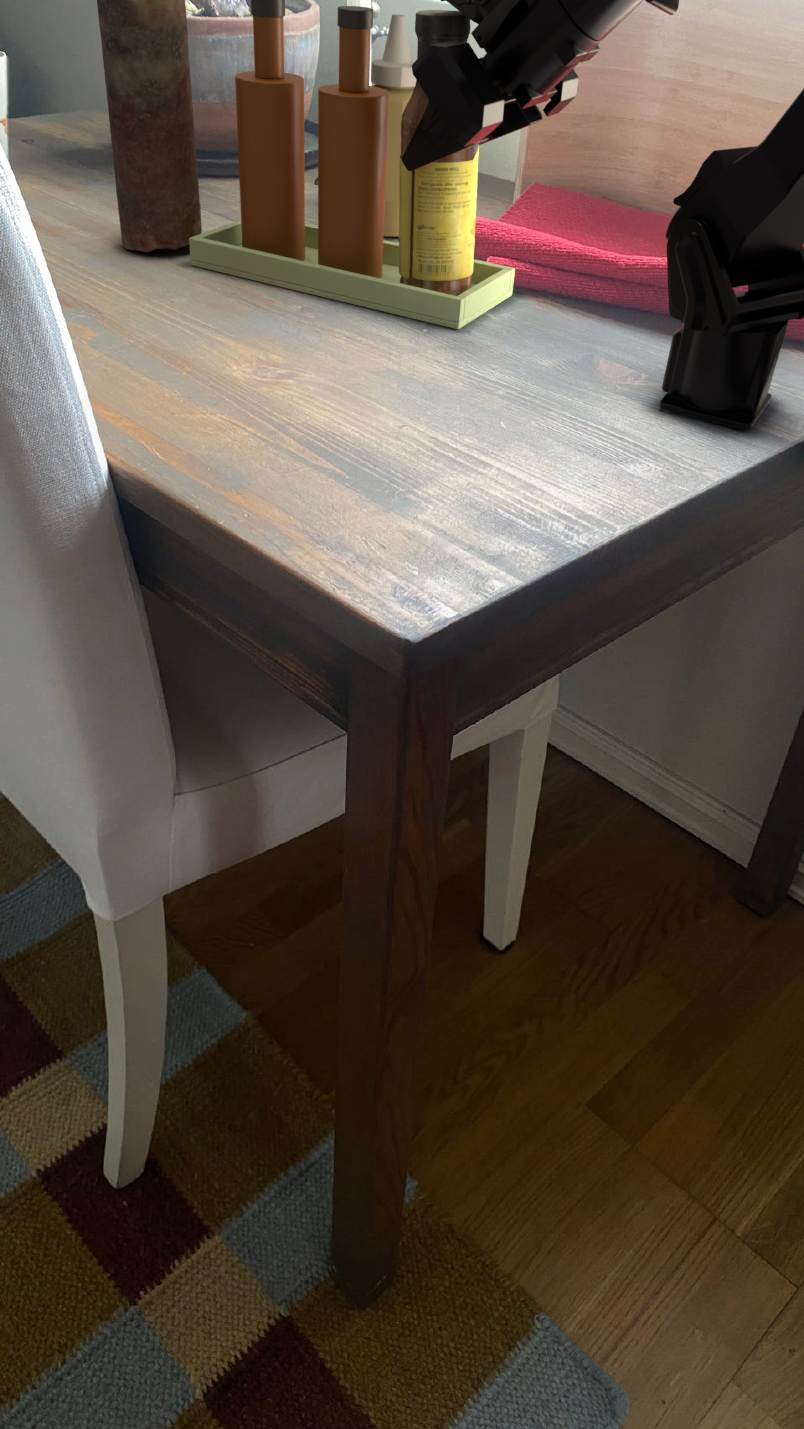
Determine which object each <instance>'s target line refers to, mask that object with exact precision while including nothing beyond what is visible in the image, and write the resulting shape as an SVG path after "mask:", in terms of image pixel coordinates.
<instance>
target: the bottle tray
mask: <svg viewBox="0 0 804 1429" xmlns="http://www.w3.org/2000/svg"><path fill="white" fill-rule="evenodd" d="M250 15H251V16H252V32H253V33H252V34H253V36H252V37H253V62H254V71H253V70H251V71H242V72H239V73H236V74H235V75H234V82H235V83H234V89H235V109H236V110H235V111H236V130H237V131H236V132H237V133H236V135H237V136H236V137H237V157H238V179H239V180H238V182H239V203H240V204H239V206H240V219H239V220H235V221H232V222H229V223H227V224H224V225H221V226H219V227H216V228H213V229H210V230H207V231H205V232H201V234H199V235H196V236H193V237H191V238H189V244H188V245H189V255H190V256H189V257H190V266H193V267H197V268H201V269H206V270H210V271H213V272H218V273H221V274H226V275H230V276H233V277H234V276H235V277H238V278H243V279H247V280H251V281H256V282H260V283H264V284H267V285H273V286H276V287H280V288H285V289H289V290H292V291H295V292H296V291H297V292H300V293H305V294H310V295H313V296H317V297H323V298H326V299H330V300H335V301H337V302H343V303H347V304H350V305H355V306H359V307H362V308H367V309H371V310H374V311H375V310H376V311H380V312H384V313H387V314H388V313H389V314H392V315H396V316H401V317H405V318H409V319H413V320H417V321H422V322H426V323H430V324H434V325H437V326H442V327H447V328H451V329H455V330H460V329H462V328H463V327H464V326H466V325H468V324H469V323H471V322H473V321H474V320H476V319H477V318H479V317H480V316H482V315H484V314H485V313H487V312H488V311H490V310H491V309H493V308H495V307H496V306H497V305H499V304H501V303H502V302H504V301H505V300H507V299H509V298H510V297H512V296H513V290H514V285H515V284H514V283H515V282H514V281H515V275H516V267H513V266H508V265H503V264H498V263H493V262H490V261H489V262H488V261H484V260H481V259H475V258H474V265H473V273H472V278H471V288H470V289H468V290H466V291H465V292H463V293H461V294H460V295H458V296H454V295H449V294H445V293H441V292H436V291H432V290H428V289H423V288H419V287H414V286H410V285H406V284H401V283H400V278H401V275H400V274H399V242H396V241H391V240H386V239H384V238H385V236H384V211H385V186H386V160H387V135H388V109H389V92H388V91H387V90H385V89H382V88H379V87H374V86H373V85H370V73H371V68H370V67H371V37H372V36H371V35H372V32H371V31H372V29H373V27H374V9H373V8H371V7H368V6H360V5H359V6H356V5H341V6H338V7H337V20H336V22H337V23H336V24H337V27H338V28H339V29H338V31H339V32H338V83H332V84H326V85H322V86H318V90H317V93H318V94H317V151H318V152H317V225H316V224H310V223H307V222H306V212H305V211H306V202H305V201H306V196H305V195H306V193H305V192H306V191H305V188H306V186H305V185H306V183H305V182H306V180H305V179H306V178H305V175H306V174H305V172H306V171H305V78H304V77H303V76H301V75H299V74H295V73H290V72H285V42H284V41H285V38H284V37H285V36H284V35H285V33H284V31H285V30H284V17H286V0H250Z"/></svg>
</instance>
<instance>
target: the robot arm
mask: <svg viewBox="0 0 804 1429" xmlns="http://www.w3.org/2000/svg"><path fill="white" fill-rule="evenodd" d="M644 1H645V2H646V3H647V4H649V5H651V6H653V7H654V8H656V9H658V10H660V11H661V12H663V13H666V14H668V15H670V16H674V15H675V14H677V13H678V11H679V8H680V1H681V0H440V2H447V3H449V4H450V5H451V6H452V7H454V8H455V9H456V11H460V12H461V13H463V14H464V15H465V16H467V17H468V18H469V19H470V21H472V22H473V23H475V24H477V26H476V27H475V28H474V29H473V30H472V31H470V34H471V36H472V37H473V39H474V40H475V42H476V44H477V45H478V47H479V48H480V49H483V50H484V51H485V54H484V55H483V56H481V57H478V55H477V54H476V52H475V51H474V49H473V48H472V46H471V44H470V43H469V42H467V43H466V42H458V41H448V42H443V43H437V44H432V45H429V46H428V47H427V48H426V50H425V51H424V52H423V53H422V54H421V55H420V56H419V57H418V59H417V58H416V59H415V61H413V62H414V63H413V64H412V74H413V75H414V77H415V78H416V80H417V81H418V83H419V84H420V86H421V88H422V89H423V91H424V92H425V94H426V95H427V97H428V98H429V102H428V105H427V107H426V110H425V112H424V114H423V116H422V119H421V121H420V123H419V125H418V127H417V129H416V131H415V133H414V135H413V137H412V139H411V141H410V143H409V145H408V147H407V149H406V150H405V152H404V154H403V156H402V162H403V164H404V165H405V167H406V168H407V170H408V171H412V170H415V169H417V168H420V167H422V166H425V165H427V164H430V163H432V162H435V161H437V160H440V159H442V158H445V157H447V156H449V155H452V154H454V153H457V152H459V151H462V150H465V149H467V148H470V147H472V146H475V145H477V144H479V146H481V145H484V144H486V143H489V142H491V141H494V140H496V139H500V138H502V137H504V136H506V135H509V134H512V133H515V132H516V131H519V130H520V131H521V130H522V129H525V128H527V127H529V126H532V125H535V124H537V123H539V122H540V123H541V121H543V114H542V112H541V110H540V109H539V107H538V105H539V104H542V103H545V102H548V103H547V104H545V106H544V108H543V110H542V111H543V113H544V115H545V116H546V118H549V117H552V116H554V115H557V114H560V112H562V110H564V109H565V108H566V107H567V106H568V105H569V104H570V103H571V102H573V100H574V99H575V98H577V95H578V89H579V88H578V87H579V81H580V78H579V75H578V73H577V72H576V70H575V69H574V68H575V67H576V66H578V64H581V63H584V62H587V61H591V59H593V58H594V57H595V55H597V54H598V53H599V52H600V51H601V48H600V46H599V44H600V43H602V41H603V40H605V39H606V37H608V36H609V34H610V33H612V31H614V30H615V29H616V28H617V27H618V26H619V25H620V24H621V23H622V22H623V21H624V20H625V19H627V17H628V16H629V15H630V14H631V13H632V12H634V10H635V9H636V8H638V6H639V5H640V4H642V3H643V2H644ZM672 202H673V204H674V205H675V206H678V208H677V210H675V211H674V213H673V215H672V217H671V218H670V220H669V222H668V225H667V227H666V232H665V239H666V241H667V243H666V266H667V267H666V271H667V292H668V293H667V295H668V296H667V297H668V312H669V313H668V314H669V316H670V317H671V318H673V319H675V320H678V321H679V322H680V323H681V324H682V326H681V327H680V328H678V330H677V331H675V332H674V333H673V335H672V339H671V343H670V348H669V352H668V358H667V360H666V366H665V370H664V376H663V380H662V384H661V390H662V392H664V393H665V395H663V396H662V397H661V399H660V400H659V404H658V407H659V408H660V409H661V410H663V411H668V412H671V413H676V414H679V415H684V416H687V417H691V418H696V419H700V420H704V421H707V422H711V423H715V424H719V425H724V426H728V427H732V428H736V429H739V430H744V431H748V430H751V429H752V428H753V427H754V424H756V422H757V421H758V420H759V418H760V417H761V415H762V414H763V413H764V411H765V410H766V408H767V407H768V405H769V404H770V402H771V399H772V394H771V393H770V392H769V390H770V387H771V384H772V380H773V376H774V373H775V369H776V366H777V363H778V359H779V356H780V352H781V348H782V345H783V342H784V338H785V335H786V331H787V329H788V324H789V321H793V320H796V321H797V320H803V319H804V87H803V88H802V90H801V91H800V92H799V93H798V95H797V96H796V98H795V99H794V100H793V101H792V102H791V104H790V105H789V106H788V108H787V109H786V111H785V112H784V113H783V114H782V116H781V117H780V118H779V120H778V121H777V122H776V124H774V126H773V127H772V129H770V131H769V133H768V134H767V135H766V136H765V138H764V139H763V140H762V141H761V142H760V143H759V144H758V145H754V146H753V145H752V146H745V147H735V148H724V149H715V150H713V151H712V152H711V153H710V154H709V155H708V156H707V157H706V159H705V160H703V162H702V164H701V166H700V167H699V170H698V172H696V175H695V177H694V179H693V180H692V181H691V184H690V185H689V186H688V187H687V188H686V189H685V190H684V191H683V192H682V193H681V194H679V195H677V196H676V197H674V198H673V201H672ZM744 286H747V290H746V291H741V292H736V293H735V290H734V288H740V287H744Z"/></svg>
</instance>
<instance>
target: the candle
mask: <svg viewBox="0 0 804 1429" xmlns="http://www.w3.org/2000/svg"><path fill="white" fill-rule="evenodd" d="M96 6H97V16H98V26H99V33H100V34H99V35H100V41H101V52H102V53H101V54H102V64H103V72H104V82H105V89H106V91H105V92H106V101H107V109H108V120H109V121H108V122H109V132H110V141H111V142H110V143H111V149H112V159H113V170H114V181H115V191H116V199H117V200H116V201H117V210H118V218H119V226H120V227H119V228H120V237H121V242H122V246H123V248H125V249H126V250H129V251H139V252H144V253H149V252H152V251H154V250H173V251H174V250H178V249H181V248H185V247H187V246H188V245H189V238H191V237H193V236H196V235H199V234H202V233H203V232H202V231H203V227H202V212H201V199H200V198H201V197H200V186H199V184H200V183H199V172H198V170H199V169H198V157H197V146H196V145H197V144H196V134H195V132H196V131H195V120H194V118H195V117H194V106H193V89H192V81H191V80H192V79H191V62H190V48H189V47H190V46H189V34H188V33H189V32H188V19H187V17H188V16H187V5H186V0H96Z"/></svg>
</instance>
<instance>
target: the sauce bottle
mask: <svg viewBox="0 0 804 1429" xmlns="http://www.w3.org/2000/svg"><path fill="white" fill-rule="evenodd" d="M414 32H415V35H416V37H417V51H416V52H417V53H416V54H417V55H416V56H417V57H416V60H417V59H418V57H419V56H420V55H421V54H422V53H423V52H424V51H425V50H426V48H427V47H428V46H429V45H432V44H437V43H443V42H448V41H458V42H466V43H468V40H469V37H470V34H471V20H470V19H469V18H468V17H467V16H465V15H464V14H463V13H461V12H460V11H459V10H449V9H425V10H419V11H417V12H416V13H415V21H414ZM428 102H429V98H428V97H427V95H426V94H425V92H424V91H423V89H422V88H421V86H420V84H419V83H418V81H417V80H416V84H415V88H414V91H413V93H412V96H411V98H410V100H409V102H408V103H407V105H406V108H405V109H404V112H403V114H402V121H401V155H400V195H399V236H398V243H399V274H400V275H401V278H400V283H401V284H406V285H410V286H414V287H419V288H423V289H428V290H432V291H436V292H441V293H445V294H449V295H454V296H458V295H460V294H461V293H463V292H465V291H466V290H468V289H470V288H471V278H472V273H473V265H474V259H475V242H476V221H477V207H478V206H477V205H478V204H477V203H478V199H477V196H478V185H479V184H478V181H479V177H478V176H479V161H480V159H479V158H480V156H479V155H480V145H479V144H477V145H475V146H472V147H470V148H467V149H465V150H462V151H459V152H457V153H454V154H452V155H449V156H447V157H445V158H442V159H440V160H437V161H435V162H432V163H430V164H427V165H425V166H422V167H420V168H417V169H415V170H412V171H408V170H407V168H406V167H405V165H404V164H403V162H402V156H403V154H404V152H405V150H406V149H407V147H408V145H409V143H410V141H411V139H412V137H413V135H414V133H415V131H416V129H417V127H418V125H419V123H420V121H421V119H422V116H423V114H424V112H425V110H426V107H427V105H428Z"/></svg>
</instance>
